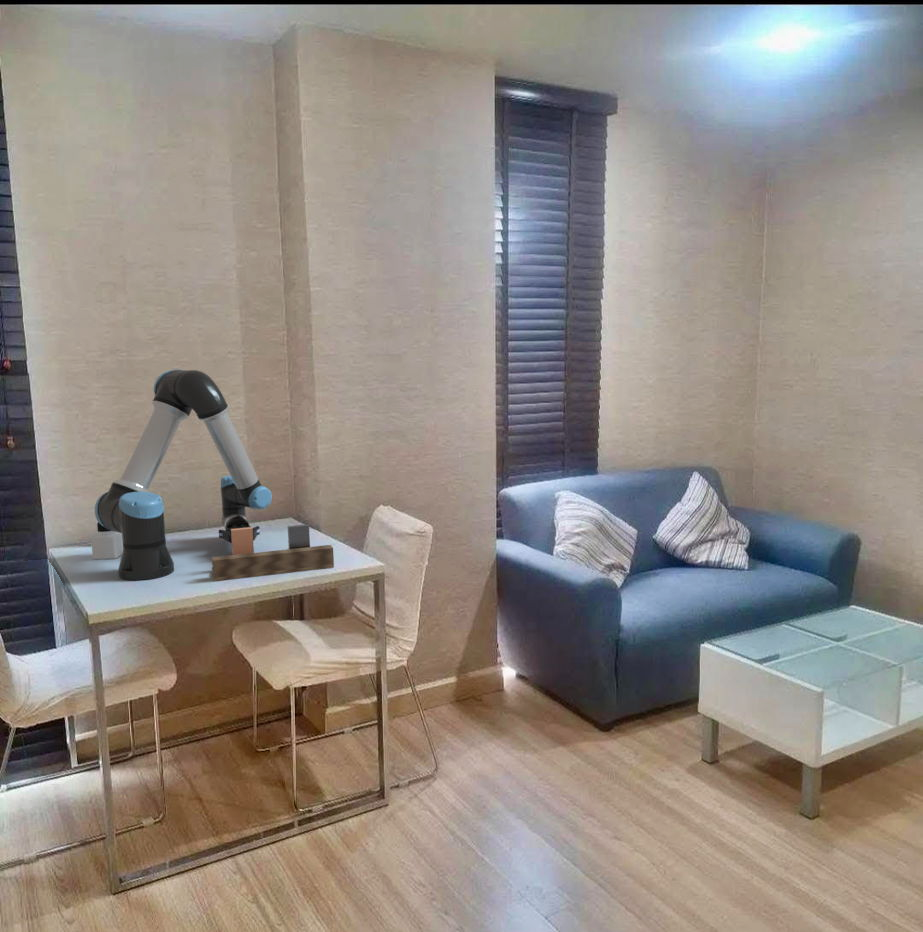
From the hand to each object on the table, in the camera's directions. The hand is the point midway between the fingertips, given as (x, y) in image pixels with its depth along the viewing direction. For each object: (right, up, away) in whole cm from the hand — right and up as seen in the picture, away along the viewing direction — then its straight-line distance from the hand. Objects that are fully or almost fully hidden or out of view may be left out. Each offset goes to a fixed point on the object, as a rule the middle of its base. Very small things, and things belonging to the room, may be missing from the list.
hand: (244, 543), depth 233 cm
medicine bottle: (-48, -6, +15) cm, 50 cm away
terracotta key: (+1, -6, -3) cm, 7 cm away
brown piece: (+9, -7, -3) cm, 12 cm away
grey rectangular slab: (+17, -5, -1) cm, 18 cm away
